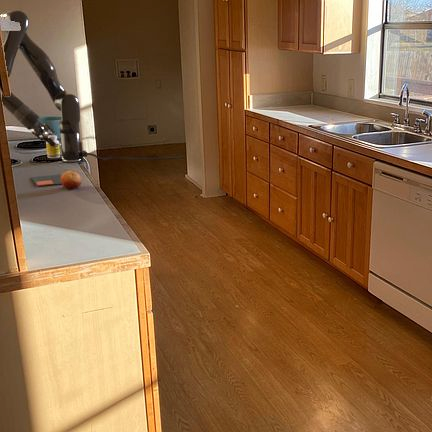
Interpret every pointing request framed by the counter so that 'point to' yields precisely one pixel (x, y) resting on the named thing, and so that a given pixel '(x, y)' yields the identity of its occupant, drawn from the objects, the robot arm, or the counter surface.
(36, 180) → the corner mat
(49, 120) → the plant pot
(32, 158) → the counter surface
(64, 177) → the fruit
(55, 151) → the supplement bottle
